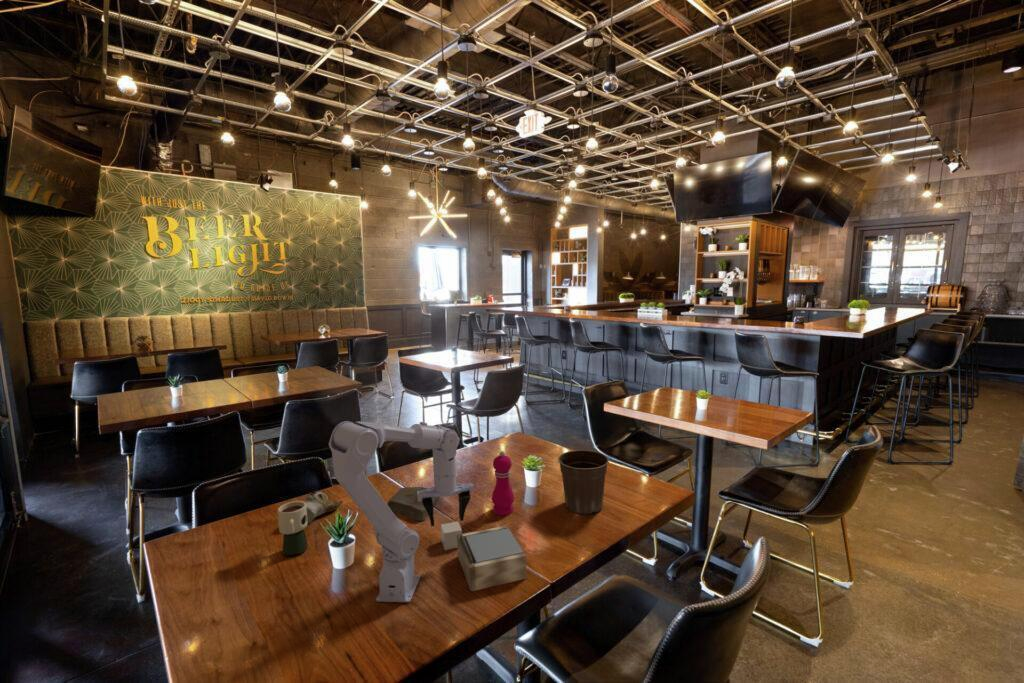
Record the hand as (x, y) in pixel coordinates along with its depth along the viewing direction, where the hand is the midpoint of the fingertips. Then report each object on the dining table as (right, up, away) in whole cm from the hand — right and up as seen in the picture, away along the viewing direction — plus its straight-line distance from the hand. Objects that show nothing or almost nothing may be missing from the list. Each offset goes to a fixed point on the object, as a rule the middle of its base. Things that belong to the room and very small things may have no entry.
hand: (446, 521), depth 118 cm
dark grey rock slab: (-15, -8, +30) cm, 35 cm away
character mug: (-43, -11, +6) cm, 45 cm away
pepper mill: (+14, -7, +26) cm, 31 cm away
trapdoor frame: (+13, -10, -2) cm, 17 cm away
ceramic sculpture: (-46, -9, +26) cm, 53 cm away
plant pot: (+41, -7, +29) cm, 50 cm away
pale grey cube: (0, -10, +8) cm, 13 cm away
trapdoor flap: (+13, -5, -3) cm, 14 cm away
